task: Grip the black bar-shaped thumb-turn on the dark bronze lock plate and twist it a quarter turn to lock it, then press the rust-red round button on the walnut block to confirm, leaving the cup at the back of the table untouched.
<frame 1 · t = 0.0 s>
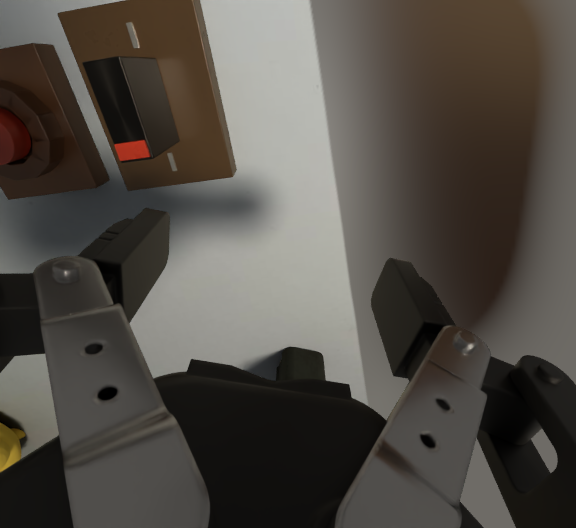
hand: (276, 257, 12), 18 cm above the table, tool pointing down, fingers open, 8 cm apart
confirm block: (38, 125, 27), on the table
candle: (299, 362, 41), on the table
thumbturn: (138, 108, 21), point 5 cm above the table, hinge at 0.0°
lock plate: (164, 101, 26), on the table
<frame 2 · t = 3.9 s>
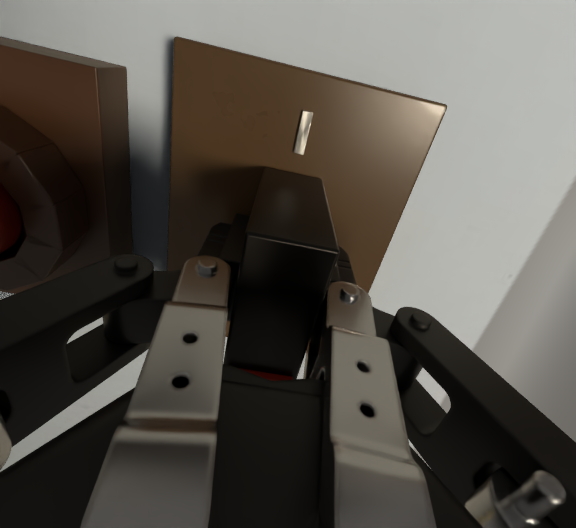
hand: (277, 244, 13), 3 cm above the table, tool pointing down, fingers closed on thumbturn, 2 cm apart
confirm block: (37, 175, 14), on the table
thumbturn: (275, 277, 11), point 5 cm above the table, hinge at -0.1°, touching gripper
lock plate: (281, 218, 15), on the table
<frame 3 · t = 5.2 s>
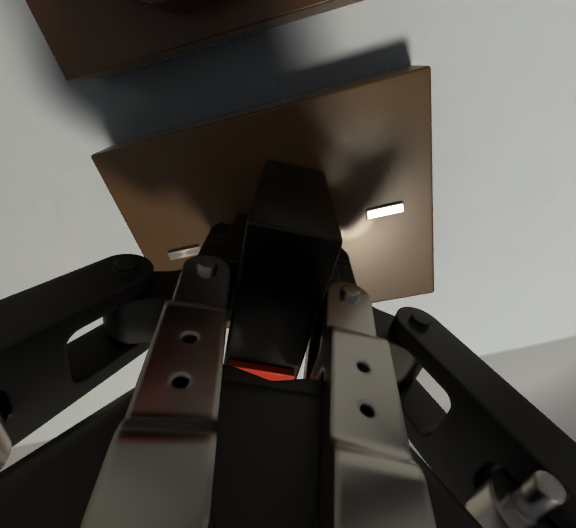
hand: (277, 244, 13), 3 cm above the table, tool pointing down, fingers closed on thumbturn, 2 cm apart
thumbturn: (277, 270, 11), point 5 cm above the table, hinge at 64.4°, touching gripper
lock plate: (282, 212, 15), on the table
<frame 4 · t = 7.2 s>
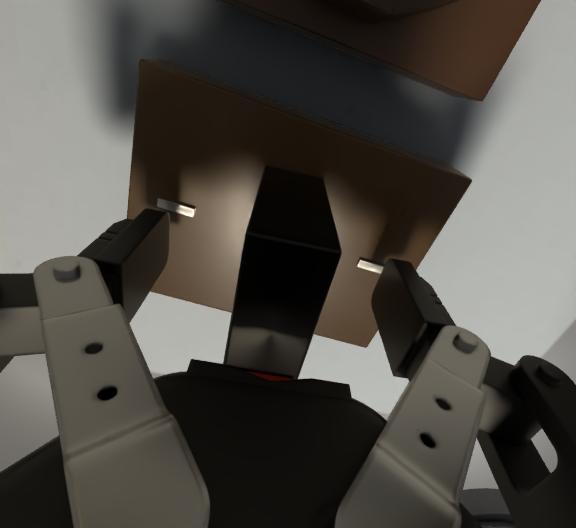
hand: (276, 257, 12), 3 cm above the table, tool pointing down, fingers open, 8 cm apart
thumbturn: (276, 277, 11), point 5 cm above the table, hinge at 95.8°
lock plate: (281, 217, 15), on the table
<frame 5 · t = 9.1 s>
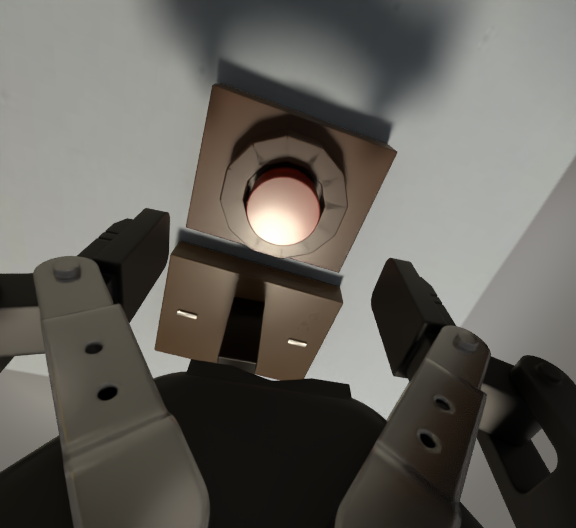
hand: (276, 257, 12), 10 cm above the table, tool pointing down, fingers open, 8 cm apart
button: (283, 206, 17), point 4 cm above the table, slide at 0.1 cm
confirm block: (285, 180, 21), on the table
thumbturn: (237, 358, 22), point 5 cm above the table, hinge at 95.8°
lock plate: (247, 310, 26), on the table
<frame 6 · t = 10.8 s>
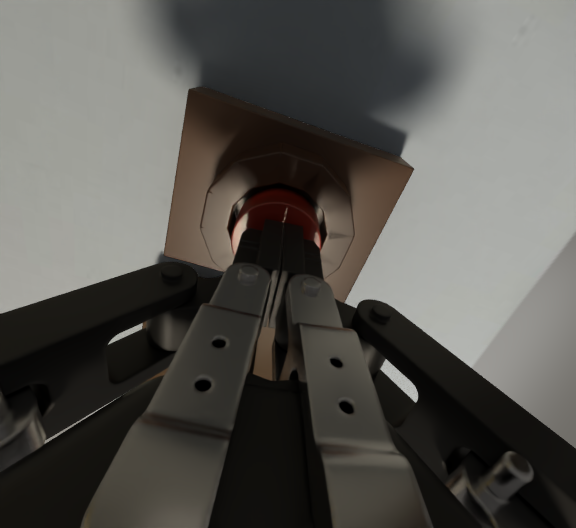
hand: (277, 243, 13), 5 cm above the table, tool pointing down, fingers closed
button: (277, 235, 14), point 4 cm above the table, slide at 0.0 cm, touching gripper
confirm block: (280, 199, 18), on the table
thumbturn: (226, 403, 19), point 5 cm above the table, hinge at 95.8°
lock plate: (239, 341, 23), on the table
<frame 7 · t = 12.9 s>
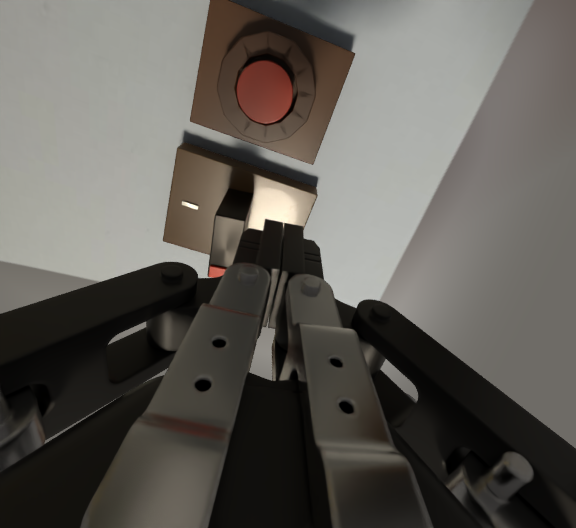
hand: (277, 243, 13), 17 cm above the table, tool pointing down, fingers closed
button: (265, 92, 22), point 5 cm above the table, slide at 0.1 cm
confirm block: (270, 86, 26), on the table
thumbturn: (231, 234, 27), point 5 cm above the table, hinge at 95.8°
lock plate: (239, 210, 31), on the table
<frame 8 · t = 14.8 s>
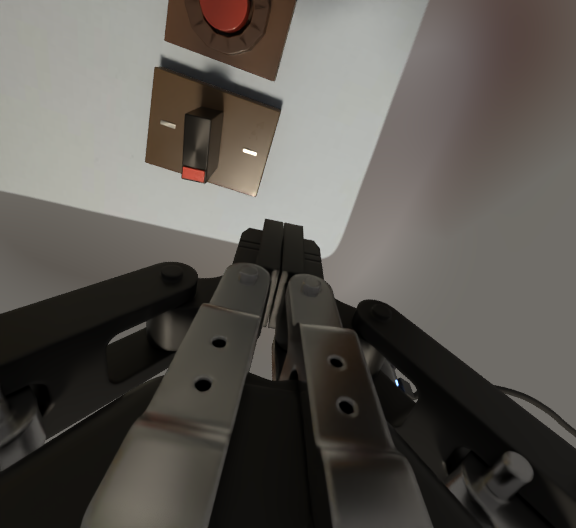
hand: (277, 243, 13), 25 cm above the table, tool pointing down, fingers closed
button: (225, 3, 25), point 5 cm above the table, slide at 0.1 cm
confirm block: (234, 11, 29), on the table
thumbturn: (202, 144, 30), point 5 cm above the table, hinge at 95.8°
lock plate: (214, 134, 35), on the table
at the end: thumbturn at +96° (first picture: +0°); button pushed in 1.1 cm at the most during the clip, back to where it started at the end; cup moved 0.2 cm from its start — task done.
